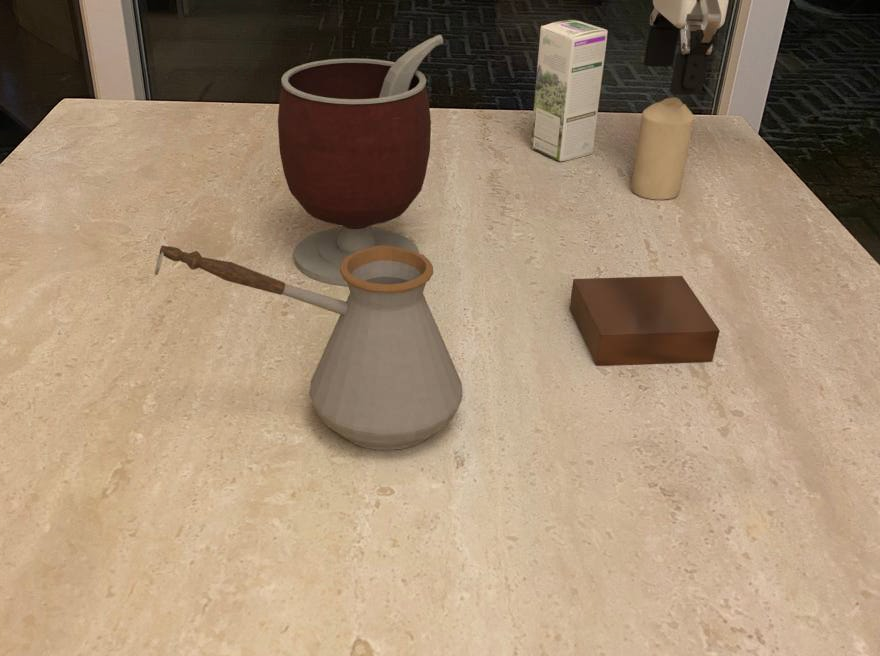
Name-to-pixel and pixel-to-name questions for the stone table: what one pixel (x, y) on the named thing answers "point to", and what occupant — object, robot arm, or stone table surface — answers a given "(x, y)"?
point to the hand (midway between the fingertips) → (671, 79)
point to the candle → (662, 149)
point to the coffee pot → (370, 347)
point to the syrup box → (568, 89)
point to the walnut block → (642, 320)
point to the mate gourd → (354, 151)
